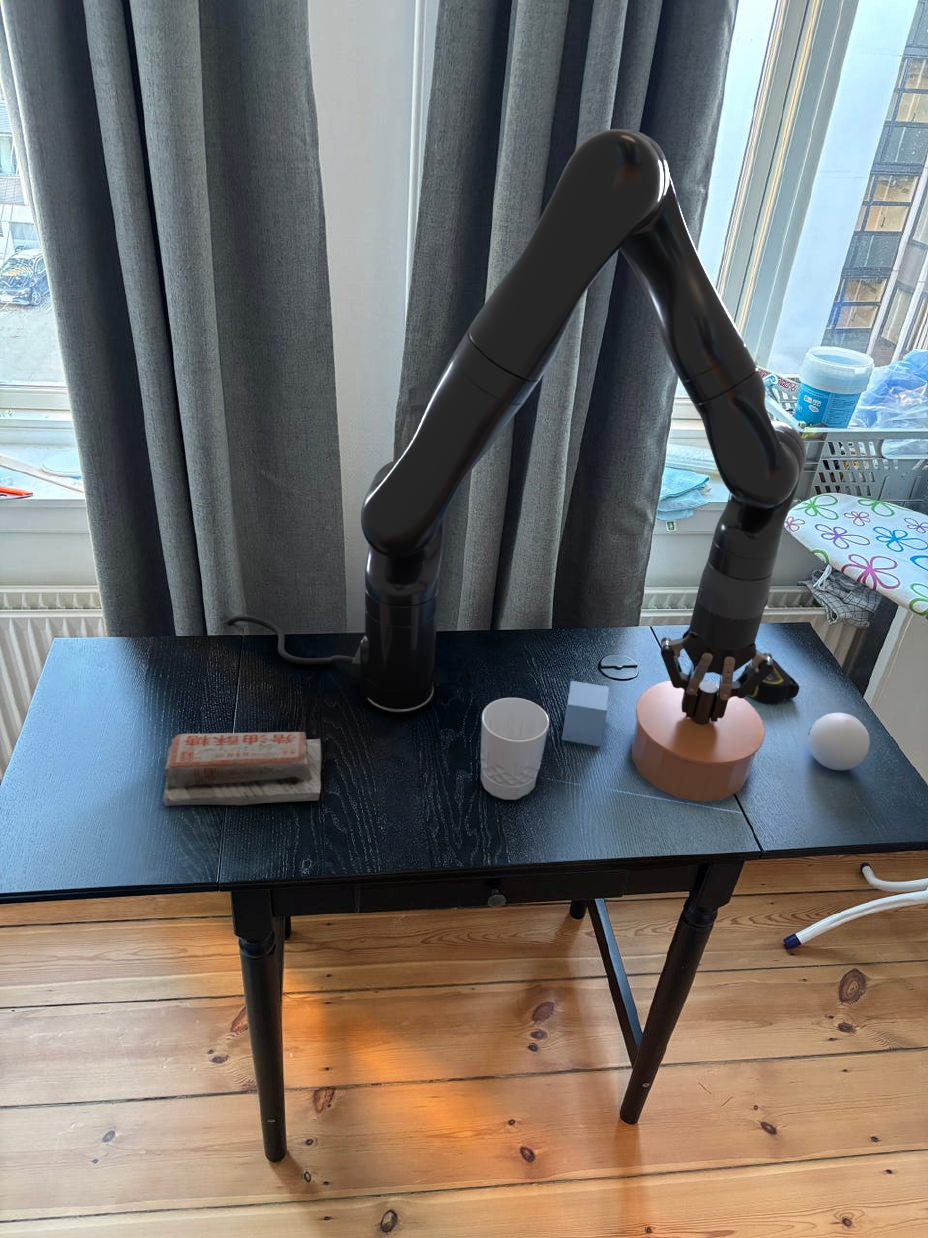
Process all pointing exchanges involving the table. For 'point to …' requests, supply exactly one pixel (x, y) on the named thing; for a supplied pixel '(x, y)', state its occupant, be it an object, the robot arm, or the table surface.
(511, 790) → the white cup
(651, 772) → the orange round container
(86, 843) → the table surface
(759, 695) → the tape measure
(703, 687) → the lid
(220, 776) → the packaged product
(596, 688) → the block
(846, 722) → the white oval ball
